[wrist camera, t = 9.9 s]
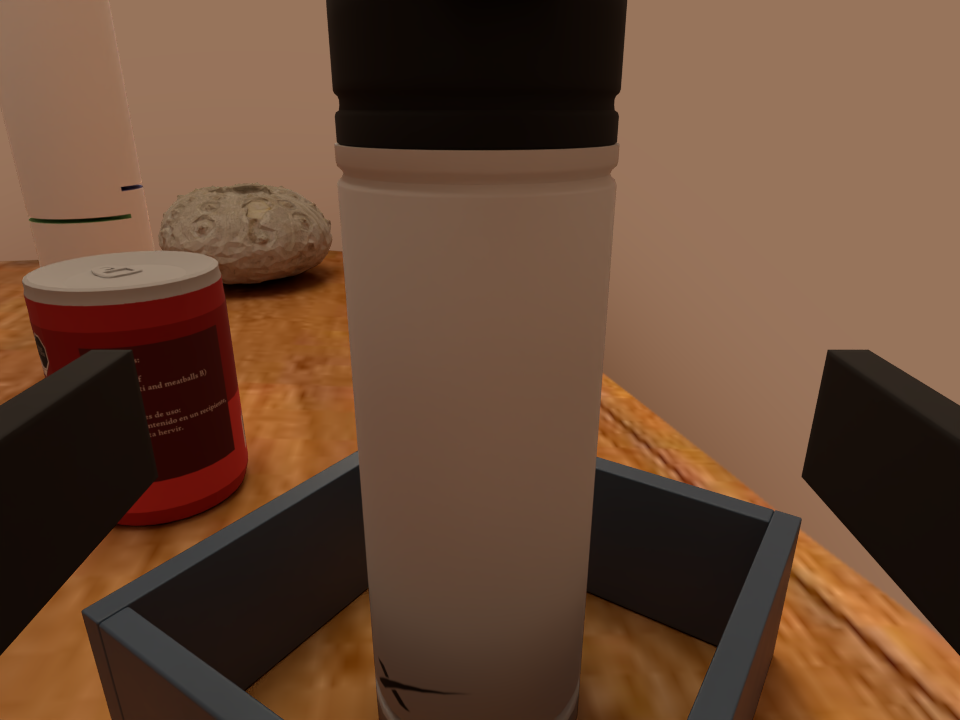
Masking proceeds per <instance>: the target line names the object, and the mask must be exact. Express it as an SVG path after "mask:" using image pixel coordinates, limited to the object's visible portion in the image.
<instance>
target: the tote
mask: <svg viewBox="0 0 960 720" xmlns="http://www.w3.org/2000/svg"><path fill="white" fill-rule="evenodd" d="M801 520H802V519H801V518H799V517H796V516H793V515H790V514H786V513H783V512H780V511H774V510H772V509H769V508H765V507H762V506H759V505H755V504H752V503H749V502H745V501H742V500H739V499H735V498H732V497H729V496H725V495H722V494H719V493H715V492H712V491H709V490H705V489H702V488H699V487H695V486H692V485H689V484H685V483H682V482H679V481H675V480H672V479H669V478H665V477H662V476H659V475H655V474H652V473H649V472H645V471H642V470H639V469H635V468H632V467H629V466H625V465H622V464H619V463H615V462H612V461H609V460H605V459H602V458H599V457H596V468H595V481H594V495H593V508H592V522H591V535H590V549H589V562H588V576H587V589H586V591H588V592H590V593H592V594H595V595H597V596H599V597H602V598H604V599H607V600H609V601H611V602H614V603H616V604H618V605H621V606H623V607H626V608H628V609H630V610H633V611H635V612H638V613H640V614H642V615H645V616H647V617H649V618H652V619H654V620H657V621H659V622H661V623H664V624H666V625H668V626H671V627H673V628H676V629H678V630H680V631H683V632H685V633H687V634H690V635H692V636H695V637H697V638H699V639H702V640H704V641H706V642H709V643H711V644H714V645H716V646H718V647H717V650H716V652H715V654H714V657H713V659H712V661H711V664H710V666H709V669H708V671H707V673H706V676H705V678H704V681H703V683H702V685H701V688H700V690H699V693H698V695H697V697H696V700H695V702H694V704H693V707H692V709H691V712H690V714H689V716H688V719H687V720H753V717H754V714H755V711H756V707H757V704H758V701H759V698H760V695H761V691H762V688H763V685H764V682H765V678H766V675H767V672H768V669H769V666H770V662H771V659H772V656H773V653H774V648H775V643H776V638H777V634H778V629H779V624H780V620H781V615H782V610H783V605H784V601H785V596H786V591H787V587H788V582H789V577H790V572H791V568H792V563H793V558H794V553H795V549H796V544H797V539H798V535H799V530H800V525H801ZM368 587H369V585H368V572H367V559H366V546H365V533H364V520H363V507H362V494H361V481H360V469H359V456H358V451H356V452H355V453H353V454H351V455H349V456H348V457H346V458H344V459H343V460H341V461H339V462H337V463H336V464H334V465H332V466H330V467H329V468H327V469H325V470H324V471H322V472H320V473H318V474H317V475H315V476H313V477H312V478H310V479H308V480H306V481H305V482H303V483H301V484H299V485H298V486H296V487H294V488H293V489H291V490H289V491H287V492H286V493H284V494H282V495H280V496H279V497H277V498H275V499H274V500H272V501H270V502H268V503H267V504H265V505H263V506H261V507H260V508H258V509H256V510H255V511H253V512H251V513H249V514H248V515H246V516H244V517H242V518H241V519H239V520H237V521H236V522H234V523H232V524H230V525H229V526H227V527H225V528H223V529H222V530H220V531H218V532H217V533H215V534H213V535H211V536H210V537H208V538H206V539H204V540H203V541H201V542H199V543H198V544H196V545H194V546H192V547H191V548H189V549H187V550H185V551H184V552H182V553H180V554H179V555H177V556H175V557H173V558H172V559H170V560H168V561H166V562H165V563H163V564H161V565H160V566H158V567H156V568H154V569H153V570H151V571H149V572H147V573H146V574H144V575H142V576H141V577H139V578H137V579H135V580H134V581H132V582H130V583H128V584H127V585H125V586H123V587H122V588H120V589H118V590H116V591H115V592H113V593H111V594H109V595H108V596H106V597H104V598H103V599H101V600H99V601H97V602H96V603H94V604H92V605H90V606H89V607H87V608H85V609H84V610H82V616H83V619H84V623H85V626H86V630H87V633H88V637H89V641H90V644H91V648H92V651H93V655H94V658H95V662H96V665H97V669H98V673H99V676H100V680H101V683H102V687H103V690H104V694H105V697H106V701H107V705H108V708H109V712H110V715H111V719H112V720H283V719H282V718H281V717H279V716H278V715H277V714H275V713H274V712H272V711H271V710H270V709H268V708H267V707H266V706H264V705H263V704H261V703H260V702H259V701H257V700H256V699H255V698H253V697H252V696H250V695H249V694H248V693H246V692H245V691H244V690H245V689H246V688H248V687H249V686H250V685H251V684H252V683H254V682H255V681H256V680H257V679H259V678H260V677H261V676H262V675H263V674H265V673H266V672H267V671H268V670H269V669H271V668H272V667H273V666H274V665H275V664H277V663H278V662H279V661H280V660H281V659H283V658H284V657H285V656H286V655H287V654H289V653H290V652H291V651H292V650H294V649H295V648H296V647H297V646H298V645H300V644H301V643H302V642H303V641H304V640H306V639H307V638H308V637H309V636H310V635H312V634H313V633H314V632H315V631H316V630H318V629H319V628H320V627H321V626H322V625H324V624H325V623H326V622H327V621H329V620H330V619H331V618H332V617H333V616H335V615H336V614H337V613H338V612H339V611H341V610H342V609H343V608H344V607H345V606H347V605H348V604H349V603H350V602H351V601H353V600H354V599H355V598H356V597H357V596H359V595H360V594H361V593H362V592H364V591H365V590H366V589H367V588H368Z"/></svg>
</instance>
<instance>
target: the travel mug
mask: <svg viewBox="0 0 960 720" xmlns="http://www.w3.org/2000/svg"><path fill="white" fill-rule="evenodd" d="M326 5H327V19H328V32H329V45H330V58H331V72H332V84H333V92H334V93H335V94H336V95H337V96H338V99H339V111H337V112H336V114H335V124H336V137H337V143H335V144H334V145H335V158H336V163H337V166H338V167H339V168H340V169H341V170H342V171H343V176H342V178H341V179H339V181H338V197H339V210H340V223H341V236H342V249H343V262H344V275H345V288H346V300H347V313H348V326H349V339H350V352H351V365H352V378H353V391H354V404H355V417H356V430H357V443H358V456H359V469H360V481H361V494H362V507H363V520H364V533H365V546H366V559H367V572H368V585H369V598H370V611H371V624H372V637H373V650H374V662H375V675H376V688H377V701H378V713H379V720H576V718H577V711H578V698H579V682H580V670H581V657H582V643H583V630H584V616H585V603H586V589H587V576H588V562H589V549H590V535H591V522H592V508H593V495H594V481H595V468H596V454H597V441H598V427H599V414H600V400H601V387H602V373H603V360H604V346H605V333H606V319H607V305H608V292H609V278H610V265H611V251H612V238H613V224H614V211H615V197H616V182H615V179H613V178H612V177H611V175H610V173H611V171H612V169H613V168H615V167H616V166H617V163H618V157H619V143H616V142H617V134H618V120H619V115H618V112H616V111H615V110H614V99H615V97H616V95H617V94H619V92H620V90H621V79H622V65H623V51H624V37H625V23H626V9H627V0H326Z"/></svg>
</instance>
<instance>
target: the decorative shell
mask: <svg viewBox="0 0 960 720" xmlns="http://www.w3.org/2000/svg"><path fill="white" fill-rule="evenodd" d="M330 229H331V223H330V220H327V219H325V218H324V216H323V214H322V213H321V211H320V210H319V209H318V207H317V206H316V205H315V204H314V203H312V202H310V201H309V200H307V199H306V198H304V197H303V196H302V195H300V194H299V193H296V192H294V191H292V190H289V189H285V188H284V187H282V186H280V187H278V188H277V187H273V186H264V185H260V184H259V183H255V184H237V185H234V186H230V187H226V186H225V187H217V188H216V187H214V186H212V187H207V188H201V189H195V190H194V191H192V192H190V193H189V194H187V195H185V196H182V195H178V196H177V201H175V202H174V203H173V204H172V206H171V207H170V208H169V209H168V211H167V212H165V213H164V214H163V220H162V222H161V229H160V232H159V235H158V238H159V245H160V247H161V249H162V250H163V251H182V252H192V253H198V254H203V255H206V256H209V257H212V258H214V259H216V260H217V261H218V265H219V270H220V272H221V275H222V282H223V283H224V284H239V283H242V284H252V283H261V282H263V281H268V280H275V279H281V278H285V277H289V276H295V275H297V274H300V273H302V272H304V271H306V270H308V269H310V268H312V267H315V266H316V265H318V264H320V263H321V262H322V260H323V259H324V258H325V256H326V255H327V254H328V251H329V249H330V246H331V243H332V235H331V232H330Z"/></svg>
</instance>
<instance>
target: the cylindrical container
mask: <svg viewBox="0 0 960 720" xmlns="http://www.w3.org/2000/svg"><path fill="white" fill-rule="evenodd" d="M0 106H1V110H2V114H3V118H4V122H5V126H6V130H7V134H8V138H9V142H10V146H11V150H12V154H13V158H14V162H15V166H16V170H17V174H18V178H19V183H20V187H21V191H22V194H23V198H24V202H25V206H26V210H27V214H28V217H31V218H30V219H29V222H30V226H31V231H32V235H33V239H34V242H35V247H36V251H37V255H38V259H39V263H40V267H44V266H47V265H50V264H53V263H57V262H61V261H65V260H71V259H76V258H81V257H88V256H94V255H102V254H110V253H121V252H136V251H155V249H154V243H153V238H152V232H151V227H150V221H149V216H148V210H147V205H146V200H145V194H144V189H143V186H141V185H137V184H141V183H142V178H141V172H140V167H139V161H138V156H137V150H136V145H135V139H134V134H133V128H132V122H131V117H130V111H129V106H128V100H127V95H126V89H125V84H124V78H123V73H122V68H121V62H120V57H119V51H118V46H117V40H116V35H115V29H114V24H113V18H112V13H111V7H110V2H109V0H0Z"/></svg>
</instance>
